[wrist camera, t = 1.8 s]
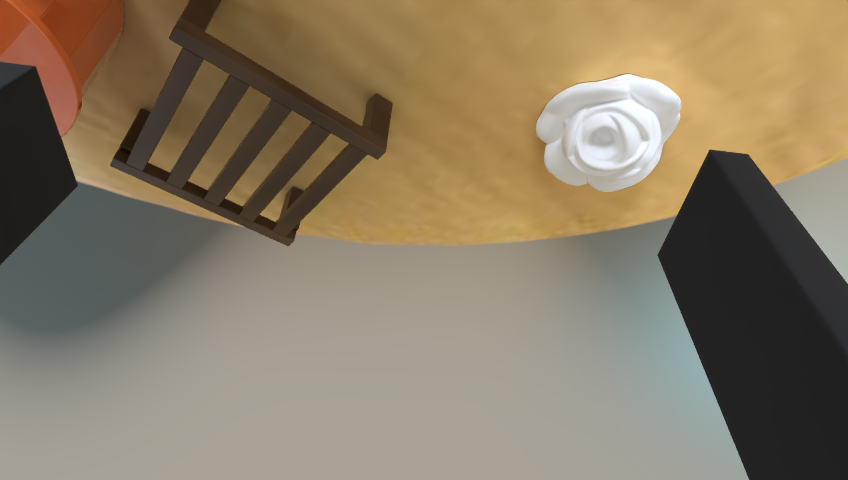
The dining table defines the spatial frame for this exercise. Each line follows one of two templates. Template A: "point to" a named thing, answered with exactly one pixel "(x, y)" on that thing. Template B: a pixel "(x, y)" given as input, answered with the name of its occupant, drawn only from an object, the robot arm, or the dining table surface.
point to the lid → (41, 59)
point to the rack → (284, 100)
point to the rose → (607, 131)
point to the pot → (83, 31)
